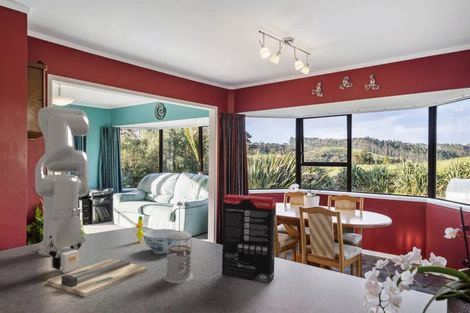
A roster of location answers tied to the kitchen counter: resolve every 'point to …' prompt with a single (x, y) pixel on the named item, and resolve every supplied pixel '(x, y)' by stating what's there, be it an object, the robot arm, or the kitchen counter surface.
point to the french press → (178, 257)
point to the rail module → (68, 259)
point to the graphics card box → (249, 237)
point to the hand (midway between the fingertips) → (64, 265)
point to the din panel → (96, 277)
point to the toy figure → (139, 226)
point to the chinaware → (159, 240)
